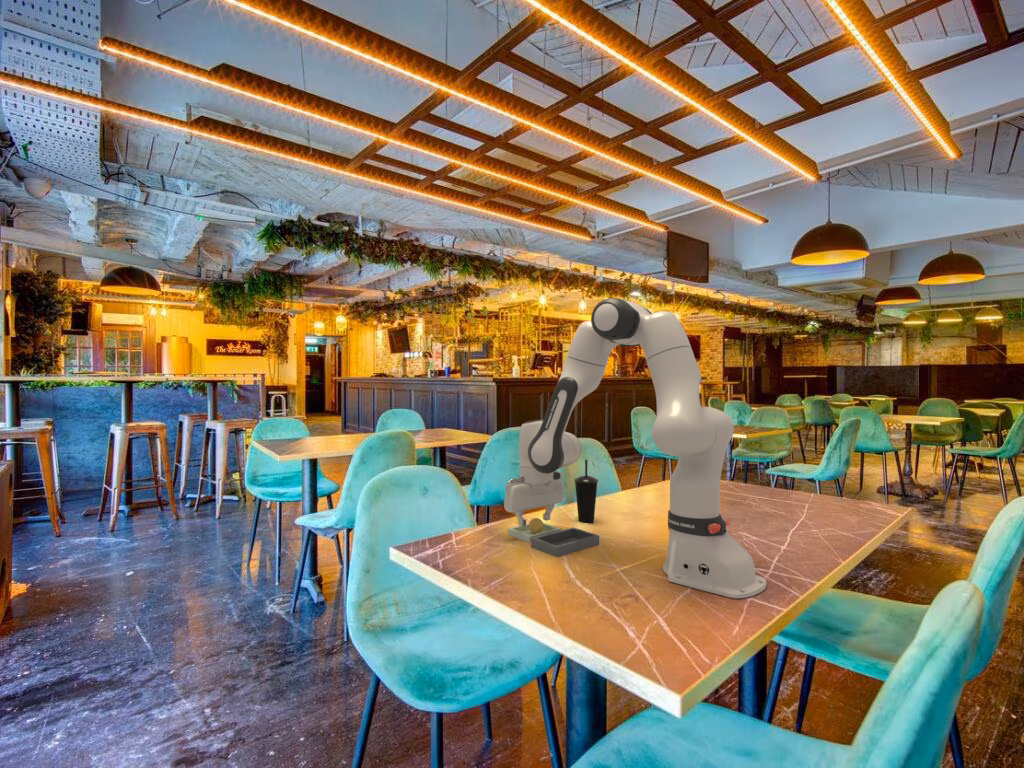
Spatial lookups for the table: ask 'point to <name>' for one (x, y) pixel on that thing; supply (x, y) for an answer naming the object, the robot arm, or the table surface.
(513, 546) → the table surface
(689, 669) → the table surface
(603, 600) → the table surface
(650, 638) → the table surface
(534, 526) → the ball
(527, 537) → the tray
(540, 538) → the dish
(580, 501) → the drinking cup
